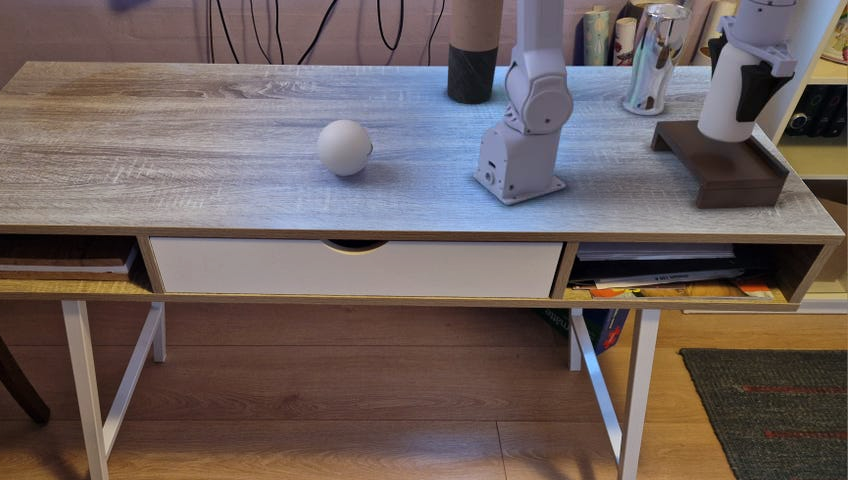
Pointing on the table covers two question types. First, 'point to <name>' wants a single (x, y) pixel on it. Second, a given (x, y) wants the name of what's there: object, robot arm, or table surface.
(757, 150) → the desk shelf
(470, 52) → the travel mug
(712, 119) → the can
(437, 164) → the table surface
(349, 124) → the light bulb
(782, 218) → the table surface
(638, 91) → the beer glass
